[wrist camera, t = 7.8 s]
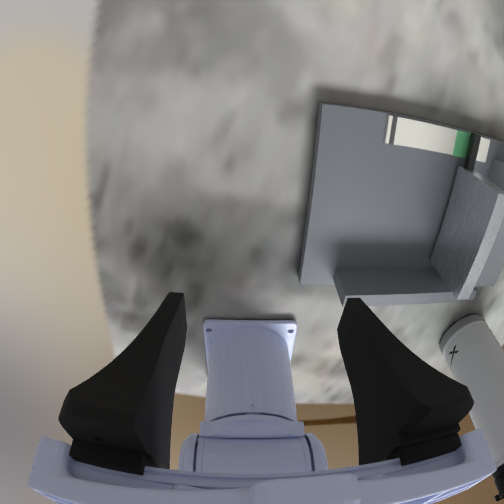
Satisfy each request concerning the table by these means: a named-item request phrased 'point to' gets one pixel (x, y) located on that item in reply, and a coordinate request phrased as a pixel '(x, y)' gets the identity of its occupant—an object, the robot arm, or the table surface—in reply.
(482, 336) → the travel mug
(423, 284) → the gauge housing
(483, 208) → the paddle
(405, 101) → the table surface
